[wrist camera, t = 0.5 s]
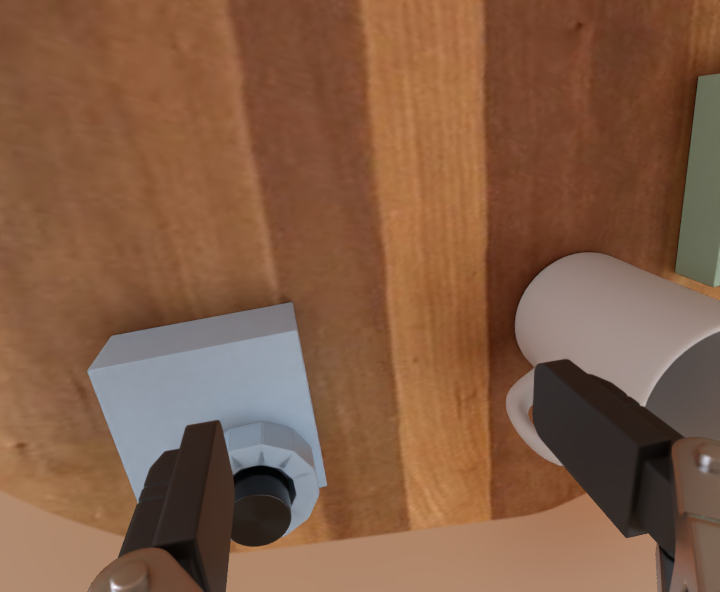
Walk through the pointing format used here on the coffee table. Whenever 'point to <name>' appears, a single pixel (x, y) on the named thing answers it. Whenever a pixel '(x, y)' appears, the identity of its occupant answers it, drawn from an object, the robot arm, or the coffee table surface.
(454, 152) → the coffee table surface
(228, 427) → the button box
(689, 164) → the panel
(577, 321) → the mug
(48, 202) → the coffee table surface
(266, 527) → the button
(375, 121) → the coffee table surface
